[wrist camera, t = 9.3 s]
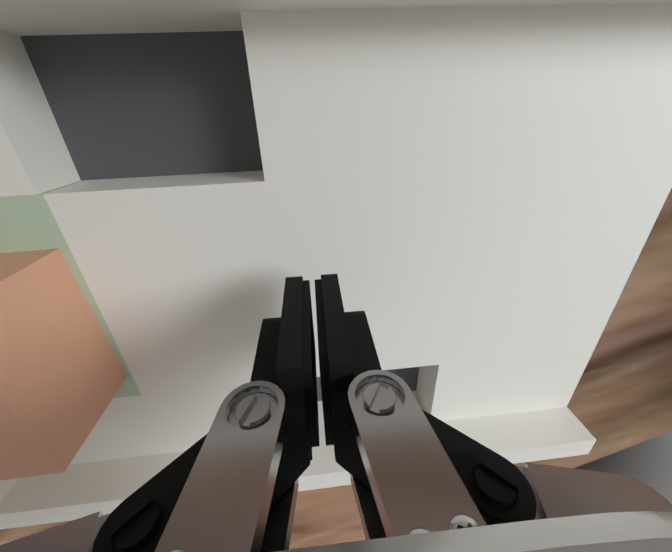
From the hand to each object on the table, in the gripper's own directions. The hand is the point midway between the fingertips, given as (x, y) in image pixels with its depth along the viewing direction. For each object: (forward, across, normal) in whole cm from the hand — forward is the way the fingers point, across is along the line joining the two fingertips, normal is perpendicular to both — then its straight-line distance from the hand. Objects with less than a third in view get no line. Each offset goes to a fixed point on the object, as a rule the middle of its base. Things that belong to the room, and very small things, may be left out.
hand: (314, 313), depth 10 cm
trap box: (+4, +1, +1) cm, 5 cm away
